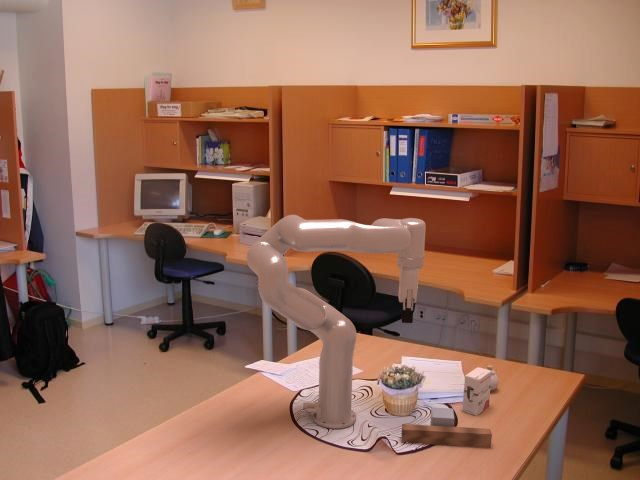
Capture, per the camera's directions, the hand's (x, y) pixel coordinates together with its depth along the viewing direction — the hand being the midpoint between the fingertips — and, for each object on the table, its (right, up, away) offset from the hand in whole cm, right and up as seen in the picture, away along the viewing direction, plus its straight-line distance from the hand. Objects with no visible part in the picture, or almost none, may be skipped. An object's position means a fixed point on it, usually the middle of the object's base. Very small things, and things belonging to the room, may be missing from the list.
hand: (407, 321), depth 212 cm
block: (+9, -30, -8) cm, 32 cm away
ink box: (+21, -27, +6) cm, 35 cm away
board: (+9, -31, -13) cm, 35 cm away
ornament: (+28, -24, +18) cm, 42 cm away
